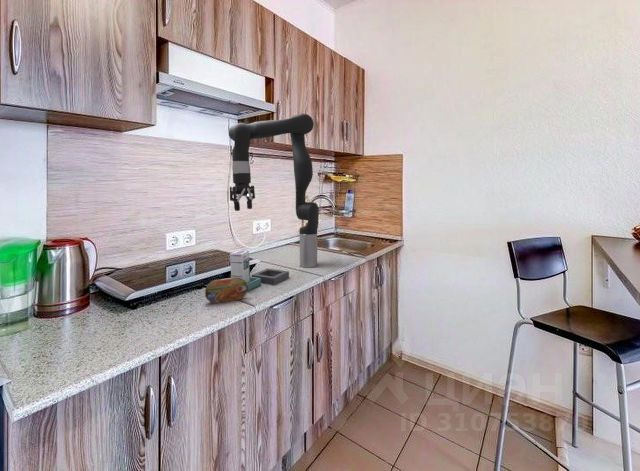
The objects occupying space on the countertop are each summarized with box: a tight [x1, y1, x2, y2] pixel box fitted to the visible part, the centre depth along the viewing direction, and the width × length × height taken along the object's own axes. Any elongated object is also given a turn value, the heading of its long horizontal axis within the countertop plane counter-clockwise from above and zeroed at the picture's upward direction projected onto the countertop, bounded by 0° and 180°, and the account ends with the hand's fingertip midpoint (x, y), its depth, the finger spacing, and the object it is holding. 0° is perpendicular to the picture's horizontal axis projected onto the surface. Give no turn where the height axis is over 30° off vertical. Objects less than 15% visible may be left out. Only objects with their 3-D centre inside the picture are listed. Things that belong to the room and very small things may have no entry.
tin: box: [204, 277, 249, 304], centre depth 114 cm, size 15×3×8 cm, turn 114°
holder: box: [250, 268, 290, 286], centre depth 140 cm, size 12×12×3 cm
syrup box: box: [229, 250, 251, 283], centre depth 128 cm, size 6×6×14 cm
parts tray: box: [247, 276, 262, 293], centre depth 129 cm, size 12×12×3 cm
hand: (243, 209), depth 137 cm, fingers open, 8 cm apart
